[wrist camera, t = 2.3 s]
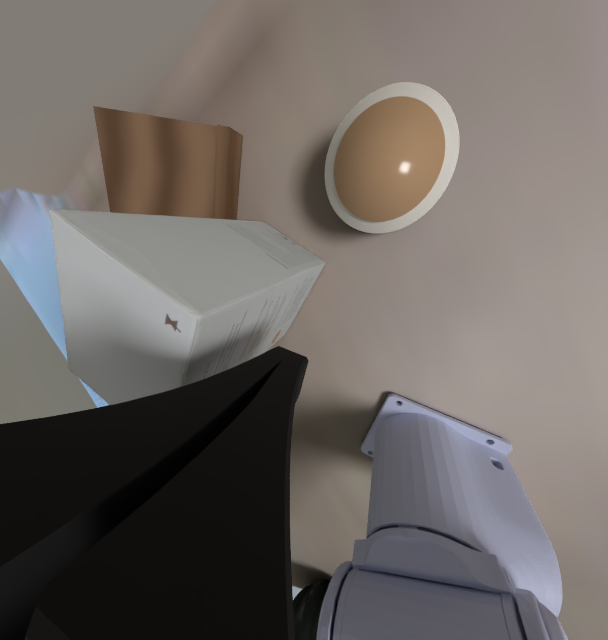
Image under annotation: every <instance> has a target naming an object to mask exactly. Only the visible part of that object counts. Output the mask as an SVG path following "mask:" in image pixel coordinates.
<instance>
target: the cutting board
mask: <svg viewBox="0 0 608 640" xmlns="http://www.w3.org/2000/svg"><path fill="white" fill-rule="evenodd" d="M94 113H95V119H96V125H97V132H98V138H99V145H100V151H101V157H102V163H103V169H104V176H105V182H106V188H107V194H108V201H109V207H110V212H112V213H128V214H144V215H164V216H179V217H193V218H211V219H229V220H237V206H238V193H239V179H240V165H241V152H242V138H243V135H241V134H239V133H238V132H236V131H235V130H233V129H232V128H230V127H226V126H220V125H217V126H211V125H205V124H199V123H193V122H187V121H181V120H175V119H168V118H162V117H156V116H150V115H144V114H138V113H132V112H126V111H119V110H113V109H107V108H101V107H94Z"/></svg>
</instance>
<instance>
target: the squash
mask: <svg viewBox="0 0 608 640" xmlns="http://www.w3.org/2000/svg"><path fill="white" fill-rule="evenodd" d="M328 586H329V583H328V582H326V581H319V582H318V583H316V584H311V585H309V586H306V587H305V588H304V589H303V590H301V591H300V592H299V594H298V595H297V596H296V597H295V598H294V600H293V616H294V633H295V640H316V639H317V630H318V623H319V617H320V612H321V607H322V604H323V600H324V597H325V594H326V591H327V589H328Z"/></svg>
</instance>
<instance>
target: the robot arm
mask: <svg viewBox="0 0 608 640" xmlns="http://www.w3.org/2000/svg"><path fill="white" fill-rule="evenodd" d="M307 364H308V359H307V357H305V356H302V355H300V354H297V353H295V352H292V351H290V350H287V349H285V348H282V347H280V346H278V347H275V348H273V349H271V350H269V351H267V352H265V353H263V354H261V355H259V356H257V357H254V358H252V359H250V360H248V361H246V362H244V363H241V364H239V365H237V366H235V367H233V368H230V369H228V370H225V371H223V372H220V373H218V374H215V375H213V376H210V377H208V378H205V379H203V380H200V381H197V382H194V383H191V384H188V385H185V386H182V387H178V388H175V389H172V390H169V391H165V392H162V393H158V394H154V395H150V396H146V397H142V398H138V399H134V400H130V401H126V402H122V403H118V404H113V405H109V406H104V407H99V408H94V409H89V410H84V411H80V412H74V413H68V414H63V415H57V416H51V417H46V418H39V419H32V420H26V421H19V422H12V423H6V424H0V640H295V633H294V616H293V597H292V576H291V549H290V451H291V435H292V423H293V415H294V407H295V403H296V401H297V398H298V396H299V394H300V390H301V386H302V383H303V379H304V375H305V372H306V368H307ZM397 401H401V403H398V402H397ZM488 440H490V441H488ZM512 450H513V447H512V445H511V444H510V442H508V441H507V440H504V439H502V438H500V437H497V436H495V435H492V434H490V433H488V432H485V431H483V430H480V429H478V428H476V427H473V426H471V425H468V424H466V423H464V422H461V421H459V420H456V419H454V418H452V417H449V416H447V415H444V414H442V413H440V412H437V411H435V410H432V409H430V408H428V407H425V406H423V405H420V404H418V403H416V402H413V401H411V400H408V399H406V398H404V397H401V396H399V395H396V394H389V395H388V396H387V398H386V400H385V402H384V404H383V405H382V407H381V409H380V411H379V413H378V415H377V417H376V419H375V421H374V422H373V424H372V426H371V428H370V430H369V432H368V434H367V436H366V438H365V439H364V441H363V443H362V445H361V451H362V452H363V453H364V454H366V455H368V456H370V457H372V458H373V467H372V478H371V490H370V501H369V513H368V524H367V536H366V539H363V540H355V543H354V551H353V560H352V561H346V562H344V563H342V564H341V565H340V566H339V567H338V568H337V570H336V571H335V573H334V574H333V576H332V579H331V581H330V583H329V586H328V589H327V591H326V594H325V597H324V600H323V604H322V607H321V612H320V617H319V623H318V630H317V639H316V640H568V638H567V636H566V634H565V632H564V630H563V628H562V626H561V624H560V622H559V620H558V618H557V617H558V615H559V612H560V610H561V605H562V581H561V575H560V569H559V565H558V561H557V557H556V555H555V552H554V549H553V546H552V544H551V542H550V540H549V538H548V536H547V534H546V532H545V530H544V528H543V526H542V524H541V522H540V520H539V518H538V516H537V514H536V512H535V510H534V508H533V506H532V504H531V502H530V500H529V498H528V496H527V494H526V493H525V491H524V489H523V487H522V485H521V483H520V481H519V479H518V477H517V475H516V473H515V471H514V469H513V467H512V465H511V463H510V461H509V459H508V457H507V455H508V454H509V453H510V452H511V451H512Z"/></svg>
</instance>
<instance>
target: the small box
mask: <svg viewBox="0 0 608 640" xmlns="http://www.w3.org/2000/svg"><path fill="white" fill-rule="evenodd" d="M49 212H50V219H51V226H52V233H53V241H54V249H55V257H56V265H57V274H58V282H59V290H60V299H61V307H62V315H63V323H64V330H65V340H66V349H67V357H68V368H69V369H70V371H71V372H73V373H74V374H75V375H76V376H77V377H78V378H80V379H81V380H82V381H83V382H84V383H85V384H87V385H88V386H89V387H90V388H91V389H92V390H93V391H95V392H96V393H97V394H98V395H99V396H100V397H101V398H103V399H104V400H105V401H106V402H107V403H108V404H110V405H113V404H118V403H122V402H126V401H130V400H134V399H138V398H142V397H146V396H150V395H154V394H158V393H162V392H165V391H169V390H172V389H175V388H178V387H182V386H185V385H188V384H191V383H194V382H197V381H200V380H203V379H205V378H208V377H210V376H213V375H215V374H218V373H220V372H223V371H225V370H228V369H230V368H233V367H235V366H237V365H239V364H241V363H244V362H246V361H248V360H250V359H252V358H254V357H257V356H259V355H261V354H263V353H265V352H266V351H267V350H268V349H269V348H270V347H271V346H272V345H273V344H275V343H276V342H277V341H278V340H279V339H280V338H281V337H282V336H283V335H284V334H285V333H286V332H287V330H288V328H289V327H290V325H291V323H292V322H293V320H294V318H295V316H296V315H297V313H298V311H299V309H300V308H301V306H302V304H303V302H304V301H305V299H306V297H307V295H308V294H309V292H310V290H311V288H312V287H313V285H314V283H315V281H316V279H317V278H318V276H319V274H320V272H321V270H322V269H323V267H324V265H325V262H324V261H323V260H321V259H320V258H318V257H317V256H315V255H313V254H312V253H310V252H309V251H307V250H306V249H304V248H303V247H301V246H300V245H298V244H296V243H295V242H293V241H292V240H290V239H289V238H287V237H286V236H284V235H283V234H281V233H280V232H278V231H277V230H275V229H274V228H272V227H270V226H269V225H267V224H266V223H264V222H258V221H243V220H229V219H211V218H193V217H179V216H164V215H144V214H128V213H112V212H94V211H76V210H57V209H51V210H50V211H49Z"/></svg>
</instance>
